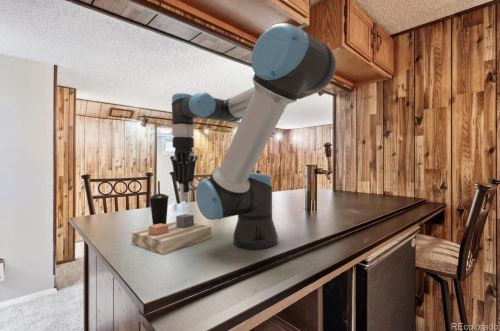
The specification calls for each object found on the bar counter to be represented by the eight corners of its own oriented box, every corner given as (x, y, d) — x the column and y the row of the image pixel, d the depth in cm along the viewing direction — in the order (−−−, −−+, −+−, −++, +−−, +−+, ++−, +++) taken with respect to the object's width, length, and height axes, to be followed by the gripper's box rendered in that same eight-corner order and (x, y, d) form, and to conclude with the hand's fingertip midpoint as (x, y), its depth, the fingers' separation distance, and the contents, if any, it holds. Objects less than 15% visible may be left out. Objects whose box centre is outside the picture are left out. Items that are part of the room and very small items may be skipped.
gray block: (193, 228, 92) (193, 215, 92) (184, 231, 89) (183, 217, 89) (186, 227, 95) (185, 214, 95) (176, 229, 91) (176, 216, 91)
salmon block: (168, 239, 83) (168, 225, 83) (156, 243, 80) (156, 227, 80) (160, 237, 86) (160, 223, 86) (148, 241, 82) (148, 226, 82)
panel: (211, 237, 90) (211, 226, 90) (162, 254, 74) (162, 241, 74) (180, 230, 101) (179, 220, 101) (131, 243, 85) (131, 232, 85)
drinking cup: (163, 232, 98) (162, 181, 98) (145, 231, 99) (144, 182, 99) (173, 227, 105) (172, 180, 105) (156, 227, 107) (155, 180, 107)
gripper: (203, 136, 90) (203, 201, 91) (180, 138, 98) (181, 198, 99) (186, 135, 84) (187, 204, 85) (163, 137, 92) (164, 200, 93)
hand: (184, 201), depth 92 cm, fingers closed
